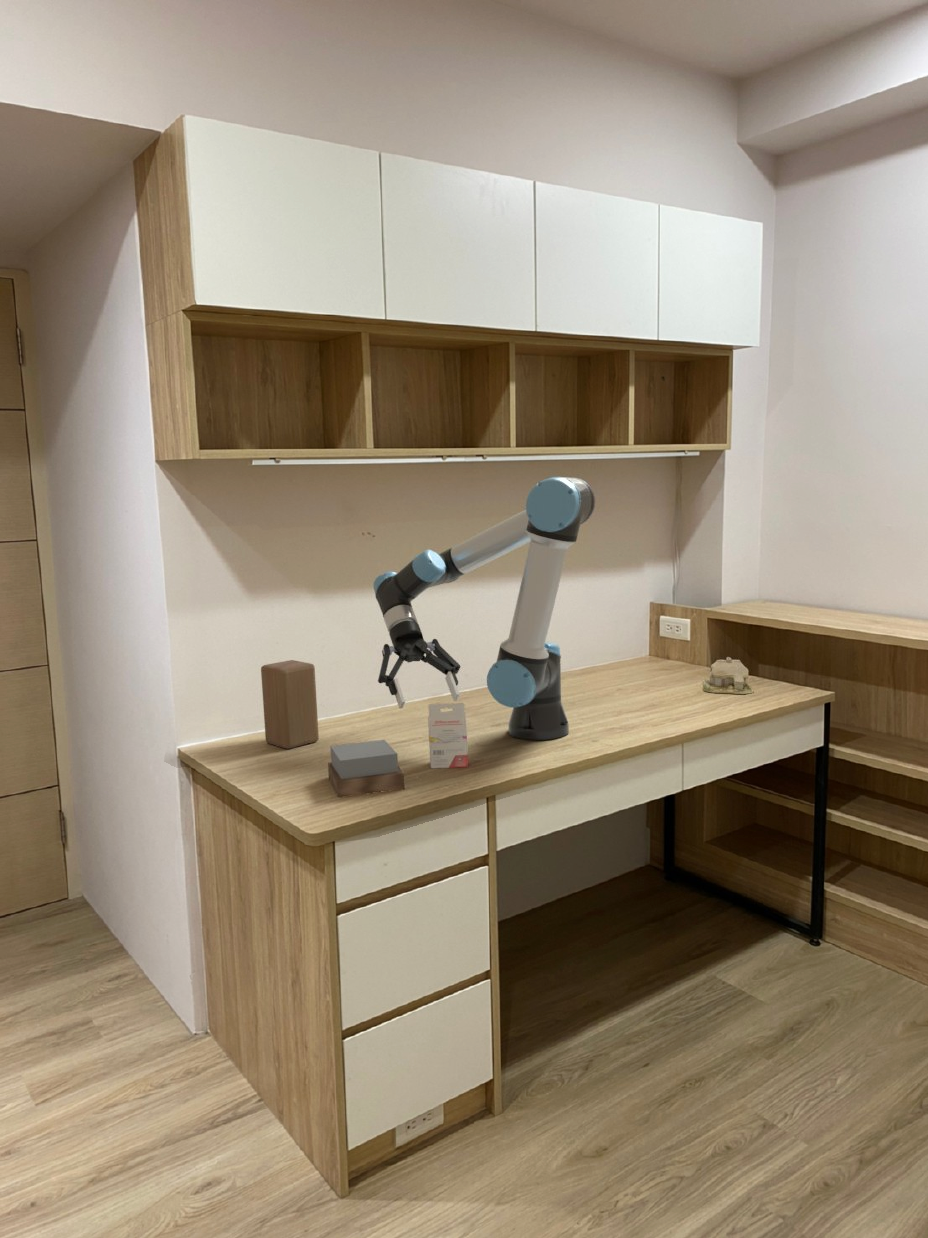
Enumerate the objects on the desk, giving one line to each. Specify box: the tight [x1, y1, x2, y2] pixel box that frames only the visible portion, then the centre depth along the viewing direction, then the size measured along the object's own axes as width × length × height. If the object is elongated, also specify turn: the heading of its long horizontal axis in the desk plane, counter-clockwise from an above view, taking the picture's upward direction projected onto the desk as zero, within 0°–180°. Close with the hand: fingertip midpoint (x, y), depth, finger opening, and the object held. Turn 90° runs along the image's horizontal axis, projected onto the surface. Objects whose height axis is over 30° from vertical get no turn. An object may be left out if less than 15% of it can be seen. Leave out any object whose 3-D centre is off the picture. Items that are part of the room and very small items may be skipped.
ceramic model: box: [702, 656, 755, 695], centre depth 273 cm, size 14×11×10 cm
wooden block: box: [260, 659, 320, 750], centre depth 233 cm, size 10×10×20 cm
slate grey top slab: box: [330, 739, 399, 780], centre depth 199 cm, size 12×12×4 cm
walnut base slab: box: [327, 761, 406, 798], centre depth 200 cm, size 14×14×4 cm
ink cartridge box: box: [427, 702, 469, 769], centre depth 210 cm, size 9×5×15 cm, turn 90°
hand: (429, 701), depth 215 cm, fingers open, 13 cm apart
